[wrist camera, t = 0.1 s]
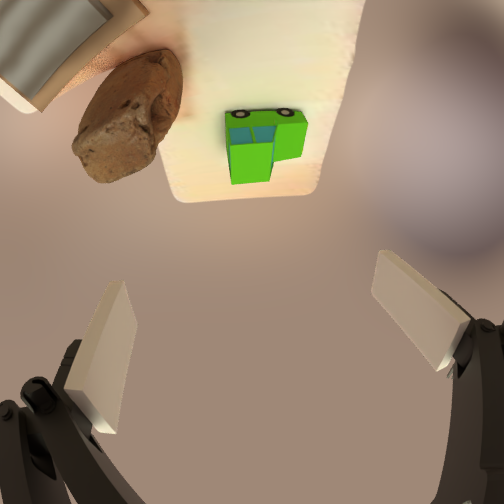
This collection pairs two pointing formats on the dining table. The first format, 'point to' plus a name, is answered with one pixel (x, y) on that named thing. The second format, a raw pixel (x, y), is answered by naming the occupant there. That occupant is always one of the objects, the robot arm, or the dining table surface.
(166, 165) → the dining table surface
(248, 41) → the dining table surface
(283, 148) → the toy car
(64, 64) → the tower base
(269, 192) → the dining table surface
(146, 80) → the block
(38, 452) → the robot arm
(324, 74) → the dining table surface
